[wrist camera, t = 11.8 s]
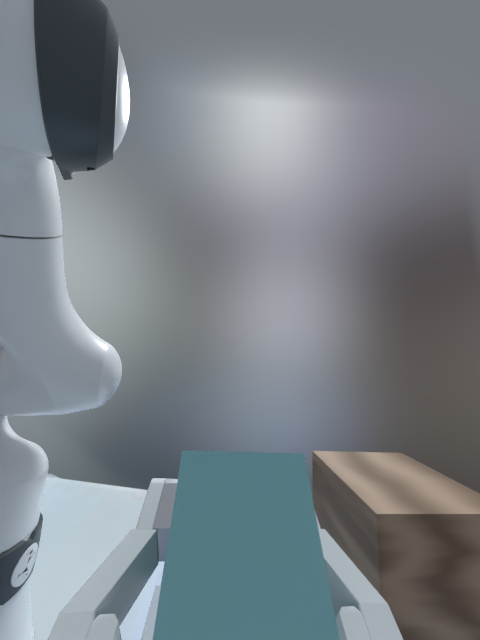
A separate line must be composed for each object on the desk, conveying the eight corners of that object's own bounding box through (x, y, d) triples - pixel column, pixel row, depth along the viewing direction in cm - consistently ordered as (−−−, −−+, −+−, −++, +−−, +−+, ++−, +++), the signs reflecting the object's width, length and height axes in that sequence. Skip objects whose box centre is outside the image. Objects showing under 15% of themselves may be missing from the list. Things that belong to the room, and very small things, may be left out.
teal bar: (145, 679, 3) (181, 450, 5) (194, 580, 21) (198, 536, 23) (345, 669, 4) (303, 453, 6) (227, 580, 21) (228, 535, 23)
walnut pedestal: (399, 1037, 13) (376, 513, 17) (312, 712, 25) (312, 450, 29) (585, 1000, 14) (518, 513, 18) (416, 704, 26) (400, 453, 30)
